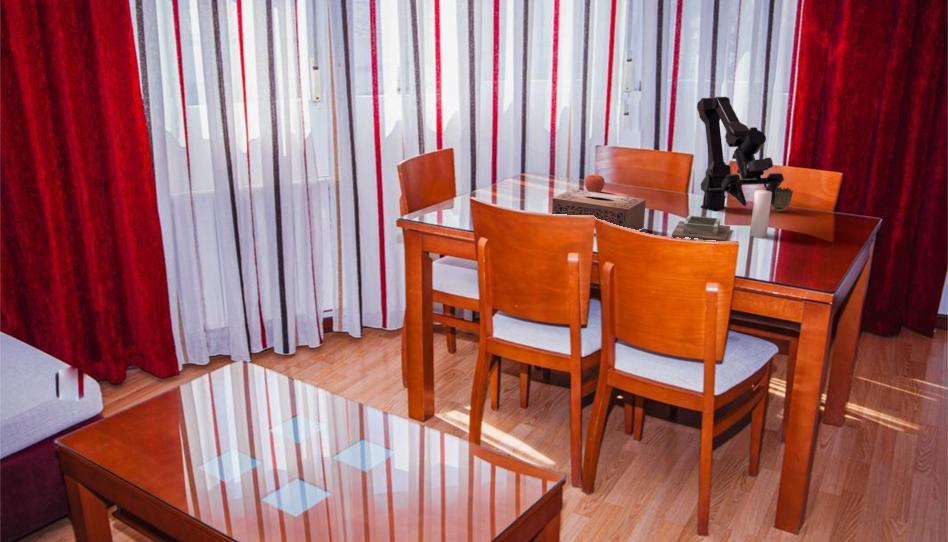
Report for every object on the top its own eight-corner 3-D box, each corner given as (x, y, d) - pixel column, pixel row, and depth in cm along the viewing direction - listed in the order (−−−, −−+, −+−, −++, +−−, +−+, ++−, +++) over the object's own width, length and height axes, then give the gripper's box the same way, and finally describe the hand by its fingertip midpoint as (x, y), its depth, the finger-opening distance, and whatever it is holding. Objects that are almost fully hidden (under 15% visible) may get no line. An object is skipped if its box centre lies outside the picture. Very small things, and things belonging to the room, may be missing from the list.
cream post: (746, 235, 264) (751, 191, 259) (756, 232, 267) (760, 189, 262) (760, 238, 260) (765, 194, 255) (769, 235, 263) (775, 192, 258)
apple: (592, 190, 320) (593, 169, 318) (608, 193, 315) (609, 172, 312) (580, 193, 315) (581, 172, 313) (595, 196, 310) (596, 175, 308)
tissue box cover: (643, 229, 271) (645, 199, 267) (626, 240, 259) (628, 209, 256) (571, 218, 284) (572, 189, 280) (551, 228, 272) (552, 198, 269)
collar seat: (679, 224, 275) (680, 212, 274) (729, 229, 269) (731, 217, 268) (671, 237, 261) (672, 224, 260) (724, 243, 255) (726, 230, 254)
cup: (793, 214, 287) (796, 191, 285) (771, 214, 287) (774, 191, 285) (786, 208, 294) (788, 186, 292) (764, 208, 294) (767, 186, 292)
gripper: (728, 149, 260) (740, 192, 253) (784, 147, 263) (798, 190, 256) (715, 169, 270) (727, 211, 263) (769, 167, 273) (782, 208, 266)
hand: (759, 204), depth 262 cm, fingers open, 9 cm apart
